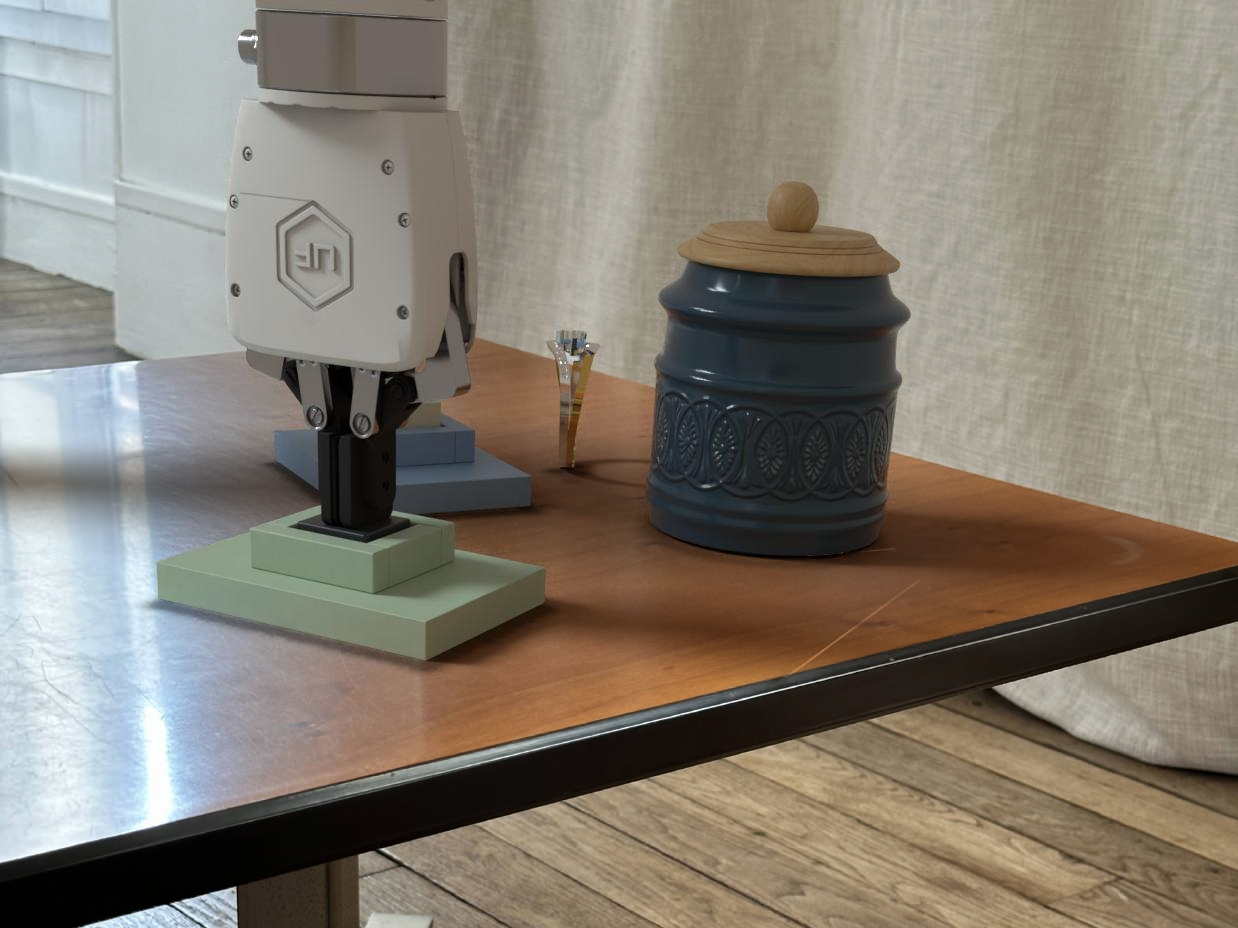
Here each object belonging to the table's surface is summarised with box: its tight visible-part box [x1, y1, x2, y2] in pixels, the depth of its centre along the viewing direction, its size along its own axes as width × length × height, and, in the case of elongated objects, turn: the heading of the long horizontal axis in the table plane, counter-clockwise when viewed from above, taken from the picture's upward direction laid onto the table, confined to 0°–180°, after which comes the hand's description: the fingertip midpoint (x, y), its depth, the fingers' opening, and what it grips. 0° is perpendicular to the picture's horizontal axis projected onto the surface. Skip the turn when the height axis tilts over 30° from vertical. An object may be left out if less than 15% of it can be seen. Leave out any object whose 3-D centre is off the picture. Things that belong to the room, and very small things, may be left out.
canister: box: [644, 180, 912, 557], centre depth 91 cm, size 13×13×18 cm
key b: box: [400, 400, 442, 429], centre depth 98 cm, size 4×4×2 cm
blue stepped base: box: [273, 412, 533, 516], centre depth 99 cm, size 14×10×4 cm
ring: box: [545, 329, 601, 470], centre depth 104 cm, size 7×3×8 cm, turn 177°
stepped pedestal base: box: [155, 504, 547, 662], centre depth 78 cm, size 14×10×4 cm
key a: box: [297, 514, 410, 543], centre depth 78 cm, size 4×4×2 cm
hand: (357, 519), depth 77 cm, fingers closed
